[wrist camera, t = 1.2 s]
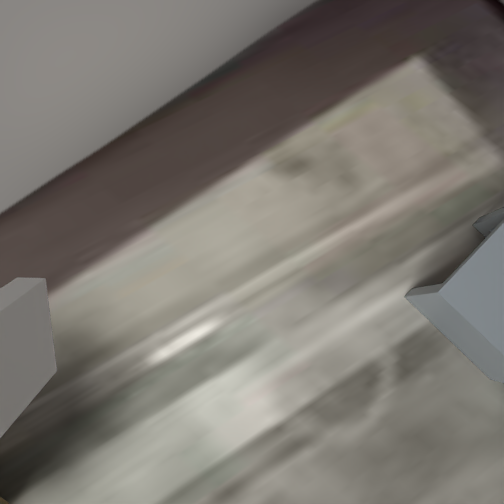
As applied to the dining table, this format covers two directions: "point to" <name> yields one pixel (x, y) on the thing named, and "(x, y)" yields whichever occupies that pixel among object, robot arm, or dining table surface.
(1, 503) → the rough brown rock
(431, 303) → the tunnel
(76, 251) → the dining table surface
